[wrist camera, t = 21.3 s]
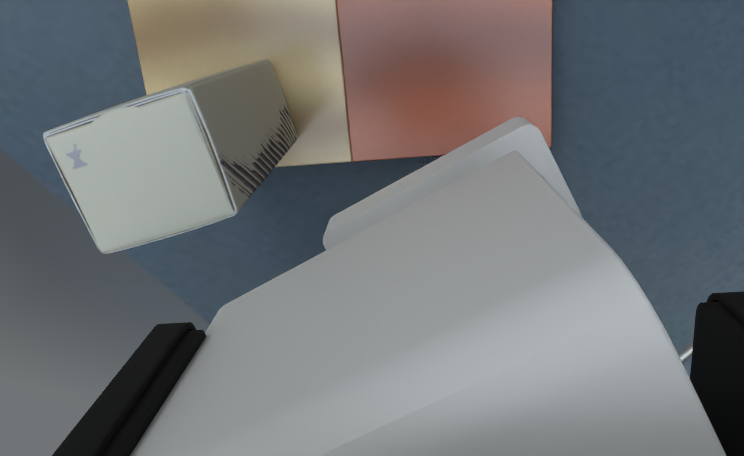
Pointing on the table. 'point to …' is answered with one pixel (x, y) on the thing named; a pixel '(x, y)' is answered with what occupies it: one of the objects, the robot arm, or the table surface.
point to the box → (174, 155)
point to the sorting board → (366, 66)
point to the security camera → (444, 333)
